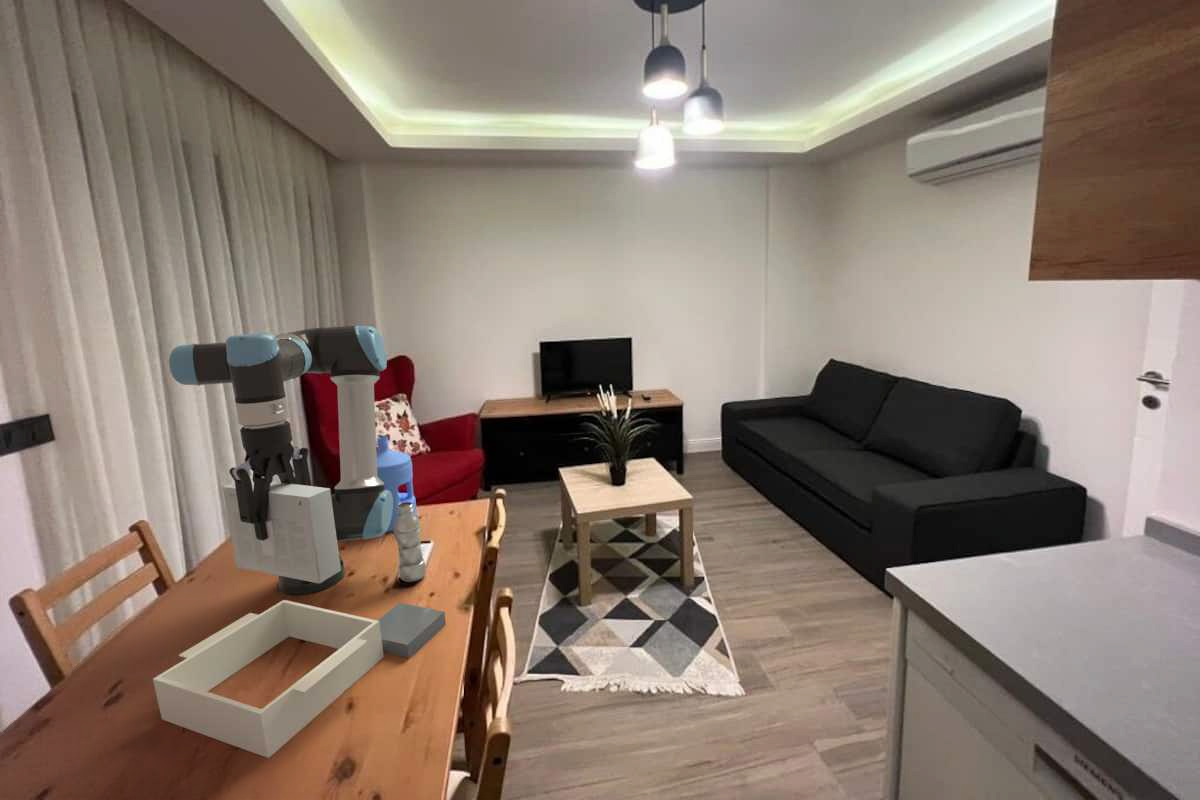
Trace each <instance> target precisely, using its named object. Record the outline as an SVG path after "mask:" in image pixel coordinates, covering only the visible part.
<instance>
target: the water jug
mask: <svg viewBox="0 0 1200 800" xmlns="http://www.w3.org/2000/svg"><path fill="white" fill-rule="evenodd" d="M388 439H389V437H388V436H386V435H385V436H378V437H376V446H377V450H376V453H377V476H378V478H379V479H380V480H381V481H382V482H384V490H388V491H390V492H391V493H392V498H393V511H392V517H391V521H390V525H389V527H388V529H387V531H386V532H385V533H391V532H394V529H393V525H394V522H395V520H396V518H397V517H398V515H399V514H397V505H398V504H400V503H403V502H412V504H413V509H414V511H413V513H414V514H415V515H416V516H417V517H418V518H419V516H418V515H419V513H418V510H417V503H416V497H415V495H414V486H413V477H414V475H413V474H414V473H413V462H412V458H411V455H409V454H407V453H404V452H400V451H396V450H394V449H393V450H392V449H390V447H389V441H388ZM405 484H406V491H407V492H399V487H400V486H403V485H405Z"/></svg>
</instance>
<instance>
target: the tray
mask: <svg viewBox="0 0 1200 800" xmlns="http://www.w3.org/2000/svg"><path fill="white" fill-rule="evenodd" d="M377 620H378V619H377ZM377 620H376V619H372V618H368V617H362V616H358V615H354V614H350V613H345V612H340V611H336V610H331V609H329V608H328V609H326V608H322V607H318V606H313V605H309V604H304V603H301V602H296V601H291V600H286V599H283V600H281V601H279V602H278V603H276V604H274V605H272V606H271V607H269V608H268V609H266V610H264V611H263V612H261V613H260V614H258V613H252V612H249V613H247V614H245V615H244V616H242V617H240V618H239V619H237V620H235V621H233V622H232V623H230V624H229V625H227V626H225V627H223V628H222V629H221V630H219V631H217V632H215V633H213V634H212V635H210V636H208V637H207V638H205V639H203V640H201V641H200V642H198V643H197V644H195V645H193V646H191V647H190V648H188V649H187V650H185V651H183V652H181V653H179V654H178V657H180V658H183V660H182V661H179V663H177V664H174V665H173V666H172V667H170V668H169V669H167V670H165V671H163V672H162V673H160V674H159V675H157V676H155V677H153V679H152V682H153V686H154V691H155V695H156V700H157V704H158V707H159V708H158V709H159V712H160V716H161V720H162V721H166V722H167V723H171V724H174V725H176V726H179V727H182V728H185V729H187V730H190V731H193V732H196V733H198V734H201V735H204V736H206V737H209V738H212V739H214V740H215V739H216V740H218V741H220V742H223V743H226V744H228V745H231V746H233V747H237V748H240V749H242V750H245V751H248V752H251V753H253V754H256V755H259V756H262V757H264V758H267V759H269V758H271V757H272V756H273V755H274V754H275V753H277V751H279V750H280V748H282V747H283V746H284V745H286V744H287V743H288V742H289V741H290V740H291V739H292V738H294V736H296V735H297V734H298V733H299V732H300V731H301V730H303V729H304V728H305V727H306V726H307V725H308V724H309V723H311V721H313V720H314V719H315V718H317V716H318V715H319V714H321V713H322V712H323V711H324V710H326V709H327V708H328V707H329V706H330V705H331V704H332V703H333V702H335V700H336V699H338V698H339V697H340V696H341V695H343V693H345V692H346V691H347V690H348V689H349V688H350V687H351V686H353V685H354V684H355V683H356V682H357V681H359V679H361V678H362V677H363V676H364V675H365V674H367V672H369V670H371V669H372V668H374V666H375V665H376V664H378V663H379V662H380V661H381V660H382V659H384V657H385V655H384V652H383V647H382V639H381V631H380V623H379V621H377ZM289 637H290V638H295V639H299V640H302V641H305V642H306V641H307V642H311V643H314V644H319V645H322V646H327V647H329V648H333V649H337V650H336V651H334V652H333V653H331V654H330V656H328V657H327V658H326V659H324V660H323V661H321V662H320V663H319V664H317V666H315V667H314V668H313V669H312V670H310V671H309V672H308V673H306V674H305V675H303V676H302V677H301V678H299V680H297V681H296V682H294V683H293V684H292V685H291V686H290V687H289V688H287V689H286V690H285V691H283V692H282V693H281V694H279V695H277V696H276V697H275V698H274V699H273V700H271V701H270V702H269V703H268V704H266V705H265V706H264V707H263V708H259V707H256V706H252V705H251V704H250V705H249V704H246V703H243V702H241V701H237V700H234V699H231V698H228V697H225V696H222V695H219V694H216V693H212V692H209V691H211V690H212V689H213V688H215V687H216V686H218V685H219V684H221V683H222V682H224V681H226V680H227V679H228V678H230V677H231V676H233V675H235V674H236V673H237V672H238V671H240V670H242V669H243V668H244V667H246V666H247V665H249V664H250V663H252V662H254V661H256V659H257V658H259V657H261V656H262V655H264V654H265V653H266V652H268V651H269V650H271V649H273V648H274V647H276V645H279V644H280V643H281V642H283V641H284V640H285V639H287V638H289ZM353 683H354V684H353ZM345 690H346V691H345ZM344 691H345V692H344Z"/></svg>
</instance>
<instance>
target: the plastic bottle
mask: <svg viewBox="0 0 1200 800" xmlns="http://www.w3.org/2000/svg"><path fill="white" fill-rule="evenodd" d="M413 511H414V509H413V504H412V502H403V503H400V504H398V505H397V514H399V515H398V517H397V518H396V520H395V522H394V525H393V529H394V531H393V534H394V536H395V540H396V545H397V550H398V575H399V578H400V580H402V581H403V582H405V583H413V582H416V581H419V580H421V579H423V577H424V576H425V574H426V569H427V568H426V567H427V566H426V563H425V562H426V561H425V559H424V556H423V552H422V547H421V545H422V544H421V520H420V518H419V516H418V517H417V516H416V515H415V514H414V513H413Z"/></svg>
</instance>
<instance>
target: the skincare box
mask: <svg viewBox="0 0 1200 800" xmlns="http://www.w3.org/2000/svg"><path fill="white" fill-rule="evenodd" d="M250 479H251V482H252V489H253V490H254V482H253V480H252V478H250ZM222 492H223V497H224V498H223V499H224V502H225V509H226V515H227V522H228V529H229V534H230V539H231V545H232V550H233V551H232V552H233V559H234V565H235V567H236V568H239V569H244V570H249V571H253V572H254V571H255V572H258V573H264V574H268V575H274V576H278V577H279V576H284V577H289V578H294V579H299V580H304V581H309V582H314V583H321V582H323V581H325V580H326V579H328V578H329V577H331V576H333V575H335V574H336V573H338V572H339V571H341V566H340V559H339V555H340V554H339V547H338V545H339V544H338V541H337V537H336V530H335V523H334V515H333V508H332V500H331V495H332V493H331V488H329V487H321V486H315V485H314V486H313V485H312V486H306V485H297V484H285V483H281V482H278V481H277V482H276V481H272V483H271V484H270V492H269V503H268V515H267V520H272V523H273V529H274V535H275V541H276V548H277V554H278V555H276V556H269V555H264V554H263V550H262V545H261V540H258V539H257V538H256V534H255V528H254V524H251V523H245V522H242V521H241V520H240V514H239V507H238V500H237V494H236V487H235V482H233V483H230V484H227V485H224V486H222Z"/></svg>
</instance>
